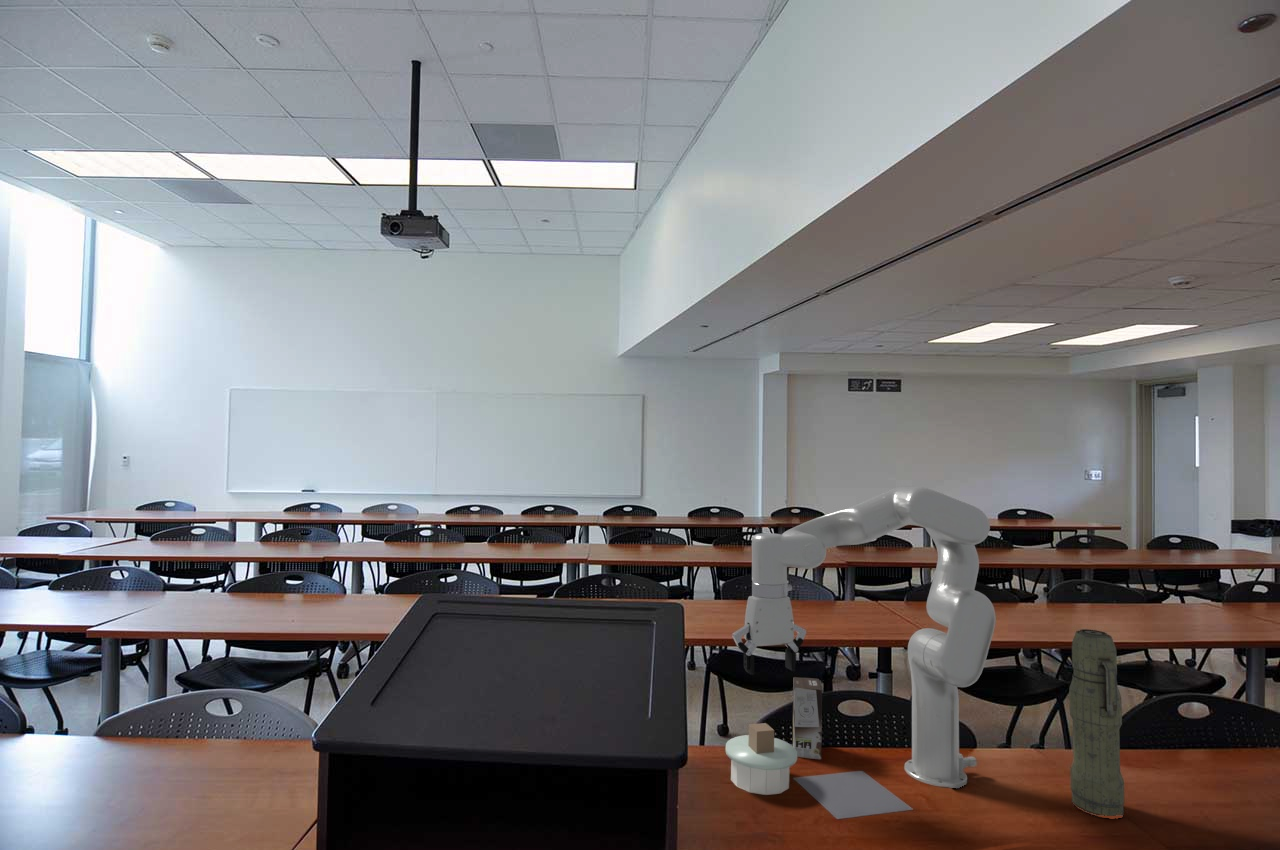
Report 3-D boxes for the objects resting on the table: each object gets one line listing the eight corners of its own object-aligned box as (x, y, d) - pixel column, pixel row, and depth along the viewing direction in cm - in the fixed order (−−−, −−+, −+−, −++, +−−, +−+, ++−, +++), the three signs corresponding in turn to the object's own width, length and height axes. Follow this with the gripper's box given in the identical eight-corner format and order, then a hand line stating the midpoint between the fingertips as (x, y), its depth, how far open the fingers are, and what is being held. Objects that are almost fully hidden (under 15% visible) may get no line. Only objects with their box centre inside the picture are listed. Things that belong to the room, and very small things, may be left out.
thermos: (1097, 794, 137) (1093, 625, 140) (1141, 824, 125) (1136, 639, 128) (1056, 793, 137) (1053, 624, 140) (1096, 823, 125) (1092, 638, 128)
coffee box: (822, 762, 149) (822, 689, 150) (793, 758, 150) (794, 687, 151) (819, 746, 158) (820, 678, 159) (792, 743, 159) (793, 675, 160)
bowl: (772, 768, 145) (772, 740, 145) (799, 793, 133) (799, 763, 134) (722, 772, 142) (723, 744, 142) (746, 799, 130) (746, 768, 131)
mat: (862, 773, 144) (862, 770, 144) (913, 812, 127) (913, 809, 127) (792, 780, 139) (793, 777, 139) (837, 822, 123) (837, 818, 123)
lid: (776, 737, 147) (776, 712, 148) (810, 766, 133) (811, 738, 133) (714, 742, 143) (715, 716, 144) (743, 772, 129) (743, 744, 129)
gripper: (796, 586, 148) (797, 663, 146) (725, 589, 143) (726, 669, 142) (813, 592, 140) (814, 673, 139) (740, 595, 136) (740, 679, 134)
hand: (770, 671), depth 140 cm, fingers open, 9 cm apart
